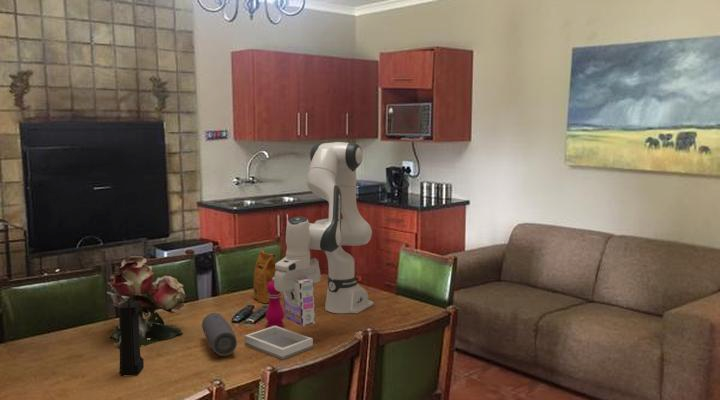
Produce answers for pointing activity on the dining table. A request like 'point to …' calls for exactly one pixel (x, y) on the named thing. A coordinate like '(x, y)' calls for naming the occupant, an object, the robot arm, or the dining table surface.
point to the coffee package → (263, 276)
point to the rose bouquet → (146, 298)
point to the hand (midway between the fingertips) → (298, 298)
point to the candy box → (301, 302)
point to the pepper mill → (274, 307)
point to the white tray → (279, 342)
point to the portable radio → (130, 339)
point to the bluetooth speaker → (219, 334)
